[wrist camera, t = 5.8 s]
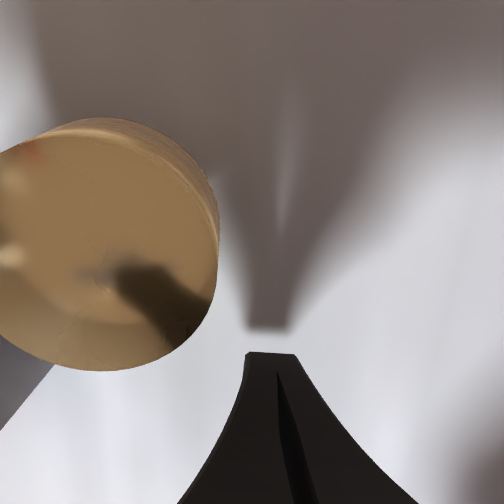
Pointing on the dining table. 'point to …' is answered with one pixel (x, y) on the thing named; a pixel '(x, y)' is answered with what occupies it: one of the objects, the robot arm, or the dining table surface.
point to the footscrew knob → (100, 251)
